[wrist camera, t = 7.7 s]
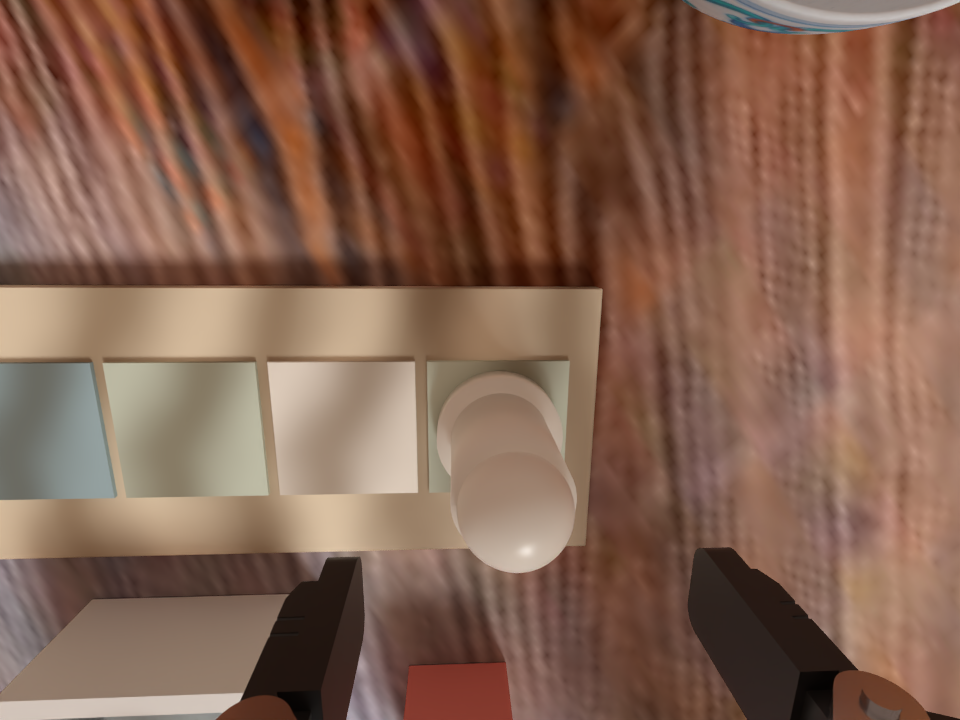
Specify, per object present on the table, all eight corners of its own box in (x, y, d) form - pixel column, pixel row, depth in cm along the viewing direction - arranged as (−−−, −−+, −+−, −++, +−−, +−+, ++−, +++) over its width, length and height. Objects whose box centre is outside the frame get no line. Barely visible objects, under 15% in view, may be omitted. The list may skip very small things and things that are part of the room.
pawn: (559, 370, 22) (624, 455, 13) (554, 482, 23) (610, 622, 15) (436, 371, 21) (426, 458, 13) (437, 484, 23) (429, 627, 14)
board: (595, 286, 22) (603, 289, 21) (580, 533, 25) (586, 548, 24) (-90, 284, 21) (-123, 287, 19) (-21, 546, 23) (-46, 562, 22)
